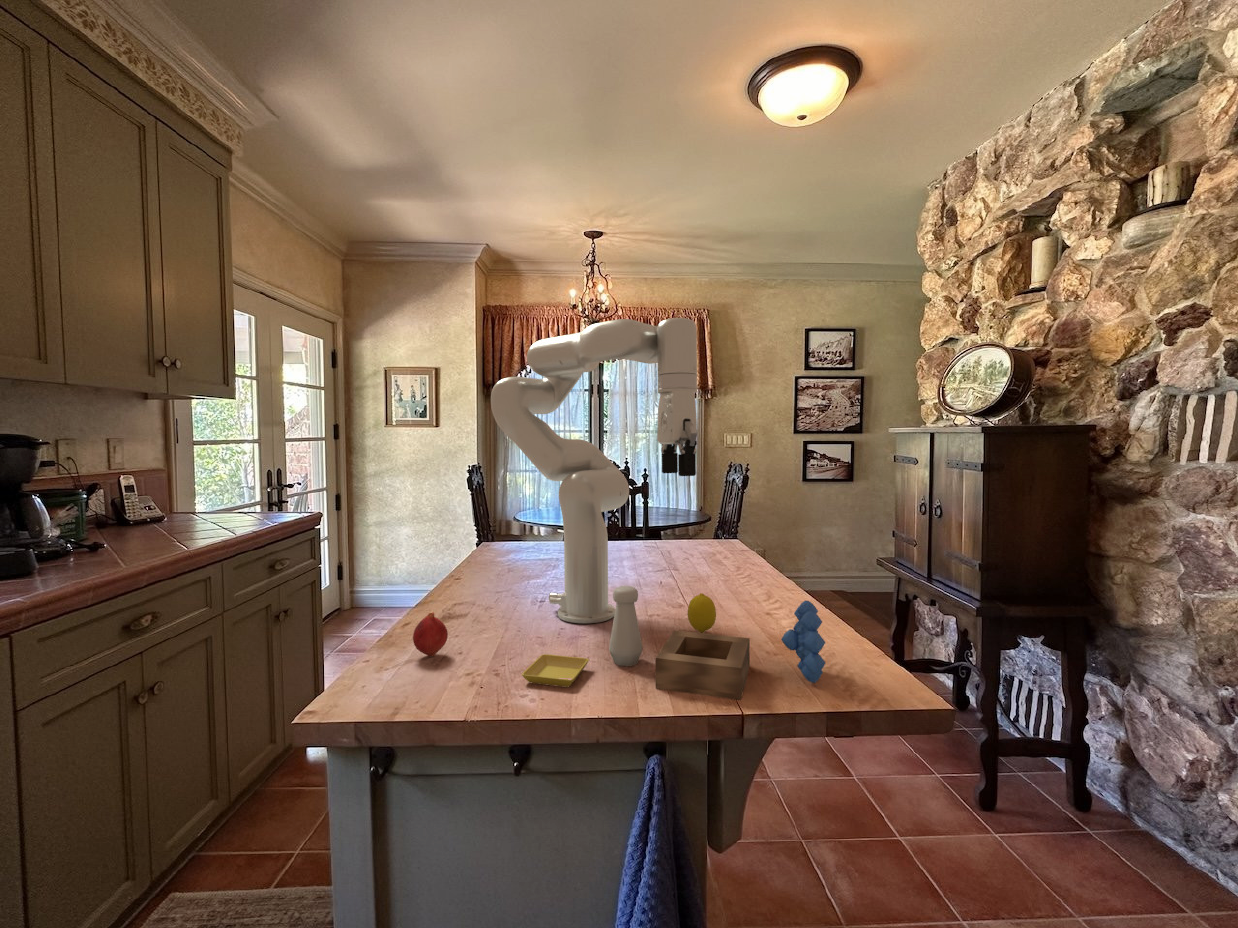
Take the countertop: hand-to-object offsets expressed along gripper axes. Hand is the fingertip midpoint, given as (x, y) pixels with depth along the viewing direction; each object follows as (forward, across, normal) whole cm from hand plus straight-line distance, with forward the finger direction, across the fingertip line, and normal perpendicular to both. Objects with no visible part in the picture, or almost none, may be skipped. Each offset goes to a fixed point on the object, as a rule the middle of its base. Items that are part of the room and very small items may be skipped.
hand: (678, 474), depth 109 cm
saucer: (+32, +12, -26) cm, 43 cm away
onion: (+32, -2, -46) cm, 56 cm away
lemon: (+32, 0, +5) cm, 32 cm away
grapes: (+32, +22, +13) cm, 41 cm away
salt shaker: (+32, +10, -13) cm, 36 cm away
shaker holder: (+32, +19, -2) cm, 37 cm away
